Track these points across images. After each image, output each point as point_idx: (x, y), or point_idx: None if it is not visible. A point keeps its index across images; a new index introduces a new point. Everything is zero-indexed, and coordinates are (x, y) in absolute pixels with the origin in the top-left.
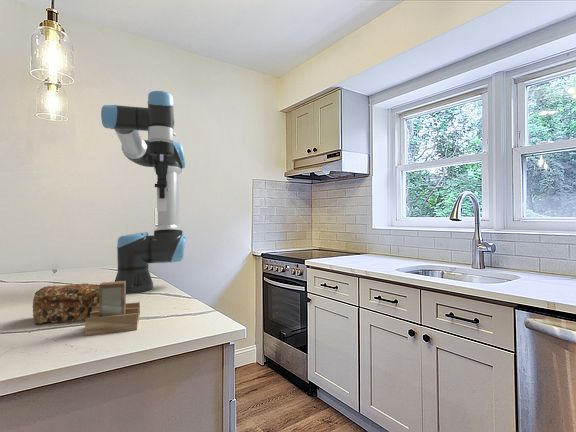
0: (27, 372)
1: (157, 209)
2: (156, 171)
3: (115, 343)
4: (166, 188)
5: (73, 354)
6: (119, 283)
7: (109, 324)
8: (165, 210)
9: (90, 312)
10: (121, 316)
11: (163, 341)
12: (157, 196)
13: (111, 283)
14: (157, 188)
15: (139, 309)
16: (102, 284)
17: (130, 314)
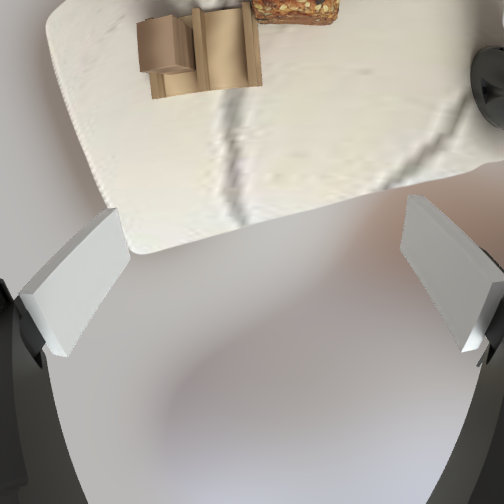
0: (50, 30)
1: (103, 212)
2: (13, 486)
3: (104, 85)
4: (54, 349)
5: (81, 48)
6: (142, 61)
7: None
8: (402, 247)
9: (193, 9)
10: (150, 73)
11: (98, 151)
12: (58, 255)
13: (149, 42)
14: (23, 293)
15: (250, 86)
16: (143, 27)
17: (152, 87)
